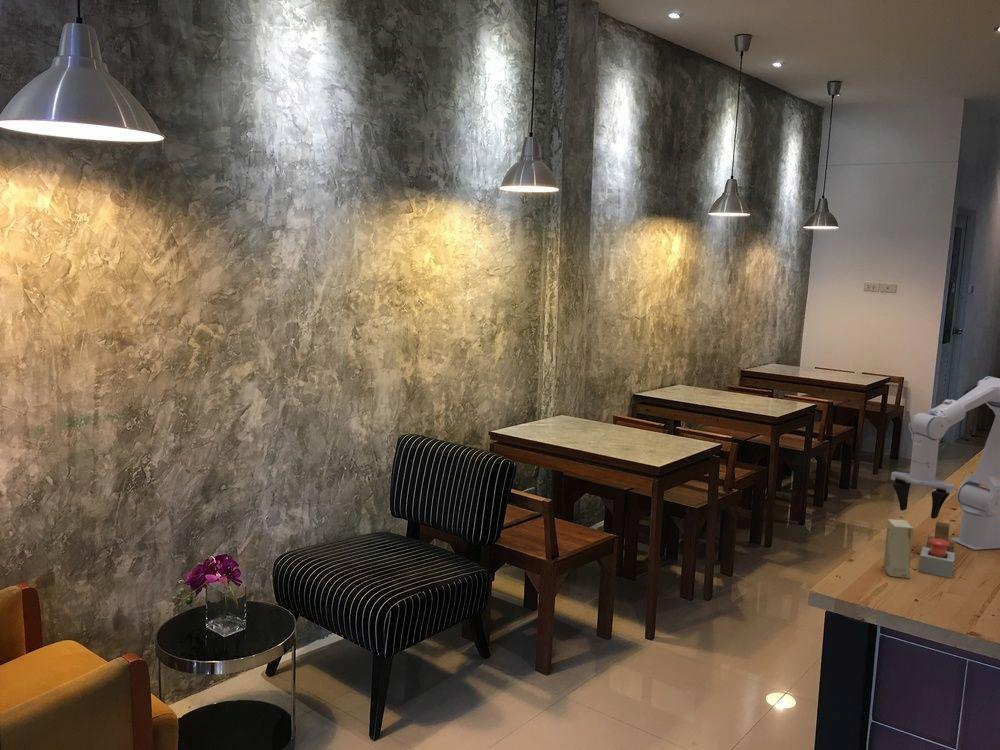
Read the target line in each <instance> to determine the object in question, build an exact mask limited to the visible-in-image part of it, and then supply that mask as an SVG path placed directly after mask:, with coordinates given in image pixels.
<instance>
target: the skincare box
mask: <svg viewBox="0 0 1000 750" xmlns="http://www.w3.org/2000/svg"><path fill="white" fill-rule="evenodd" d="M885 533H886V535H885V543H884V544H885V545H884V553H883V554H884V557H883V565H882V566H883V567H884V568H883V569H884V571H885V572H886V574H888V576H890V577H895V578H897V577H899V578H904V577H905V578H906V579H909V577H910V569H911V558H912V557H911V555H912V547H913V537H914V526H912V524H910V522H908V520H903V519H892V518H891V519H890V518H888V519H887V524H886V532H885Z"/></svg>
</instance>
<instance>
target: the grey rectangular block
mask: <svg viewBox="0 0 1000 750" xmlns="http://www.w3.org/2000/svg"><path fill="white" fill-rule="evenodd" d="M955 558H956V552H954V551H950V552H947V551H946V558H941V557H936V556H931V555H930V547H927V546H922V547H921V551H920V557H919V565H918V572H919V571H921V572H920V573H923V572H925V574H928V573H929V574H930V575H934V576H939V577H945V578H948V579H953V573H954V567H955ZM929 574H928V575H929Z"/></svg>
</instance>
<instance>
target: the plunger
mask: <svg viewBox="0 0 1000 750" xmlns="http://www.w3.org/2000/svg"><path fill="white" fill-rule="evenodd" d="M929 544H931V547H929V548H930V555H931V556H936V557H941V558H946V551H947V547H949V546H950V542H948V541H946V540H943V539H938V538H931V539H929Z"/></svg>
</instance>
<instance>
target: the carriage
mask: <svg viewBox="0 0 1000 750" xmlns="http://www.w3.org/2000/svg"><path fill="white" fill-rule="evenodd" d="M950 526H951V524H950V523H948V522H947V523H946V522H942V521H936V522H935V529H934V535H928V536H927V540H926V544H925V547H926V548H930V547H931V544H929V539H931V538H938V539H943V540H946V541H948V542H950V546H949V547H947V552H954V550H955V543H956V542H955V540H952V539H951V538H949V535H950V528H951V527H950Z"/></svg>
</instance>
